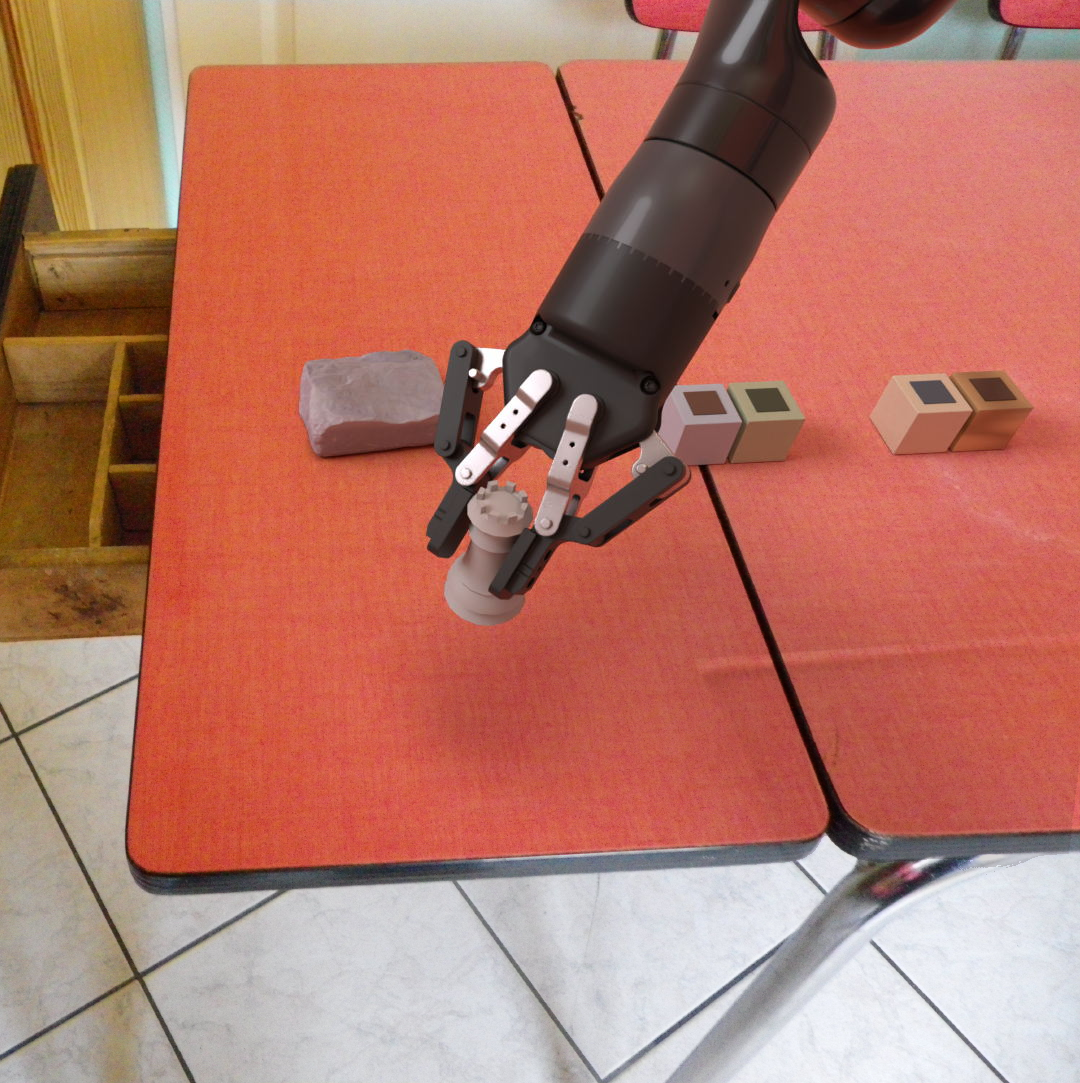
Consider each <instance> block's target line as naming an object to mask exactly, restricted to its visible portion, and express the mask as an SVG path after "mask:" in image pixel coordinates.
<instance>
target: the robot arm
mask: <svg viewBox="0 0 1080 1083" xmlns="http://www.w3.org/2000/svg"><path fill="white" fill-rule="evenodd" d="M959 1H960V0H709V3H708V6H707V8H706V12H705V15H704V17H703V21H702V23H701V26H700V29H699V32H698V35H697V37H696V39H695V40H696V41H695V43H694V46H693V48H692V50H691V54H690V56H689V58H688V61H687V63H686V65H685V67H684V69H683V71H682V72H681V75H680V76H679V77H678V79H677V81H676V83H675V85H674V87H673V88H672V90H671V92H670V94H669V95H668V97H667V99H666V100H665V102H664V104H663V106H662V107H661V109H660V111H659V113H658V114H657V116H656V118H655V120H654V121H653V123H652V124H651V126H650V128H649V130H648V131H647V133H646V134H645V137H644V138H643V140H642V142H641V143H640V145H638V147H637V149H636V151H635V152H634V154H633V155H632V156H631V158H630V159H629V161H628V162H627V163H626V164H625V166H624V167H623V168H622V169H621V171H620V172H619V173H618V174H617V176H616V178H614V180H613V181H612V182H611V185H610V186H609V187H608V189H607V191H606V192H605V194H604V196H603V197H602V198H601V201H600V203H599V204H598V206H597V208H596V209H595V211H594V212H593V214H592V216H591V218H590V220H589V222H588V223H587V225H586V226H585V227H584V230H583V231H582V233H581V235H580V236H579V238H578V240H577V242H576V244H575V245H574V247H573V249H572V250H571V252H570V253H569V256H568V257H567V259H566V260H565V262H564V264H563V266H562V267H561V268H560V271H559V273H558V274H557V276H556V278H555V280H554V281H553V282H552V284H551V286H550V288H549V290H548V291H547V293H546V294H545V297H544V298H543V299H542V301H541V303H540V305H539V306H538V308H537V310H536V313H535V314H534V316H533V318H532V319H533V320H532V321H531V324H530V325H529V327H528V328H527V329H526V330H525V331H524V332H523V333H522V334H521V335H520V336H519V337H517V338H515V339H514V340H513V341H511V342H510V343H509V344H508V345H507V346H506V347H505V348H504V349H502V348H490V347H478V346H475V345H474V344H472V343H471V342H470V341H467V340H464V339H461V340H457V341H456V342H455V343H453V345H452V346H451V348H450V351H449V357H448V362H447V369H446V375H445V380H444V391H443V396H442V402H441V408H440V413H439V419H438V425H437V430H436V436H435V442H434V444H433V449H434V452H435V454H437V455H438V456H440V457H441V458H442V460H444V461H445V463H446V465H447V466H448V468H450V470H451V473H452V482H451V484H450V486H449V487H448V489H447V491H446V493H445V495H444V496H443V498H442V500H441V501H440V503H439V505H438V507H437V508H436V509H435V511H434V513H433V515H432V516H431V518H430V520H429V522H428V523H427V526H426V532H425V536H426V537H428V539H430V540H429V541H428V543H427V546H426V550H427V551H428V552H430V553H431V554H432V555H434V556H435V557H437V558H441V559H450V558H451V557H452V556H453V555H455V553H456V552H457V550H458V548H459V547H460V545H461V544H462V541H463V540H464V539H465V536H466V535H467V534H468V532H469V525H470V523H471V520H470V518H469V516H468V503H469V502H470V500H471V498H472V497H473V496H474V495H475V494H477V493H478V491H479V489H480V488H481V487H483V488H484V489H487V485H488V482H490V481H494V480H497V481H498V480H499V479H500V478H501V476H503V474H504V473H505V472H506V471H507V469H509V468H510V467H511V465H513V463H516V462H517V461H519V460H521V459H522V457H523V456H525V454H526V453H528V451H529V450H530V449H531V447H532V448H534V449H537V450H541V451H542V452H543V453H544V454H545V455H546V456H547V457H548V458H549V459H550V460H552V463H551V466H550V468H549V471H548V474H547V475H546V476H547V477H546V488H545V491H544V494H543V497H542V499H541V502H540V504H539V507H538V510H537V513H536V515H535V517H534V521H533V525H532V526H531V528H530V527H529V528H524V530H523V531H522V533H521V535H520V536H519V538H518V540H517V541H516V543H515V545H514V546H513V548H512V550H511V551H510V553H509V554H508V556H507V558H506V559H505V561H504V563H503V564H502V566H501V568H500V569H499V571H498V572H497V574H496V576H495V577H494V579H493V581H492V582H491V584H490V586H489V588H488V592H490V593H491V594H492V595H494V596H495V597H497V598H498V599H500V600H509V599H511V598H512V597H513V596H514V595H524V594H525V593H526V594H527V593H528V592H529V591H531V590H532V589H533V588H534V586H535V584H536V582H537V581H538V579H539V577H540V576H541V574H542V573H543V571H544V570H545V569H546V566H547V565H548V563H549V562H550V560H551V558H552V557H553V555H554V553H555V552H556V550H557V549H558V548H559V546H561V545H563V544H565V543H575V544H580V545H582V546H583V545H584V546H589V547H591V548H601V547H604V546H605V545H607V543H609V542H611V541H612V540H613V539H615V538H616V537H618V536H619V535H620V534H621V533H623V532H624V531H626V530H627V529H629V528H630V527H631V526H632V525H634V524H636V522H638V521H640V520H641V519H642V518H643V517H645V516H646V515H648V514H649V513H650V512H652V511H653V510H655V509H656V508H657V507H659V506H660V505H662V504H663V503H664V502H666V501H667V500H668V499H670V498H671V497H673V496H674V495H675V494H677V493H678V492H680V491H681V490H683V489H684V488H685V487H687V485H689V484H690V483H691V480H692V475H693V474H692V471H691V469H690V467H689V465H688V466H687V465H686V464H685V463H684V462H683V461H682V460H680V459H678V458H677V457H676V456H675V455H674V453H673V452H672V451H671V450H670V448H669V447H668V446H667V444H666V443H665V442H664V441H663V439H662V438H661V437H660V435H659V434H658V432H659V430H660V428H661V423H662V411H663V407H664V404H665V401H666V399H667V398H668V396H669V395H670V393H671V392H672V390H673V389H674V387H675V386H676V385H677V384H678V382H679V381H680V379H681V377H682V376H683V375H684V373H685V371H686V369H687V368H688V366H689V364H690V363H691V361H692V360H693V358H694V357H695V355H696V353H697V352H698V350H699V348H700V347H701V345H702V344H703V342H704V340H706V337H707V336H708V334H709V333H710V330H712V328H713V326H714V324H715V323H716V321H717V319H718V318H719V317H720V315H721V313H722V312H723V310H724V308H725V307H726V306H727V305H728V304H730V303H731V301H732V300H733V298H734V296H735V295H736V293H737V291H738V290H739V288H740V286H741V284H742V283H741V282H742V280H743V278H744V276H745V275H746V273H747V272H748V271H749V268H750V266H751V265H752V263H753V261H754V260H755V257H756V255H757V253H758V251H759V250H760V249H759V248H760V246H761V244H762V242H763V240H764V238H765V236H766V233H767V231H768V229H769V227H770V225H771V223H772V222H773V220H774V218H775V216H776V213H778V211H779V210H780V208H782V205H783V204H784V202H785V200H786V198H788V195H789V194H790V192H791V191H792V189H793V188H794V186H795V184H796V183H797V181H798V179H799V178H800V176H802V174H803V171H804V170H805V168H806V166H807V165H808V163H809V161H810V160H811V158H812V156H813V155H814V153H815V152H816V150H818V147H819V145H820V144H821V142H822V140H823V139H824V137H825V135H826V133H827V132H828V130H829V128H830V126H831V124H832V122H833V119H834V116H835V115H836V114H835V113H836V110H837V103H838V102H837V93H836V91H835V88H834V85H833V82H832V80H831V79H830V77H829V75H828V74H827V72H826V70H825V69H824V68H823V67H822V65H821V63H820V62H819V61H818V59H817V58H816V56H815V55H814V54H813V52H812V50H811V49H810V47H809V45H808V43H807V42H806V40H805V38H804V36H803V33H802V30H801V27H800V22H799V10H800V11H801V12H802V13H804V14H805V15H806V16H808V17H809V18H810V19H812V20H813V21H814V22H815V23H817V24H818V25H819V26H820V27H822V29H824V30H826V31H827V32H828V33H830V34H831V35H832V36H833V37H835V38H836V39H837V40H839V42H842V43H843V44H846V45H848V46H850V47H853V48H856V49H862V50H884V49H890V48H895V47H899V46H902V45H904V44H907V43H910V42H911V41H913V40H915V39H917V38H918V37H920V36H921V35H924V33H926V32H927V31H928V30H929V29H930V28H932V27H933V26H934V25H936V24H937V23H938V22H939V21H940V19H942V18H943V17H944V16H945V15H946V14H947V13H948V12H949V11H950V10H951V9H952V8H953V7H954V6H955V5H956V4H957V3H958V2H959ZM500 374H502V387H503V388H502V389H503V408H502V409H501V411H500V412H499V413H498V414H497V415H496V416H495V417H494V419H493V420H492V421H491V422H490V424H488V426H487V427H486V428H485V429H483V431H482V433H481V434H480V437H479V438H480V439H479V441H478V443H476V438H477V432H478V426H479V421H480V415H481V409H482V404H483V398H484V392H486V391H487V392H488V391H490V389H492V388H493V386H494V385H495V383H496V380H497V378H498V376H499V375H500ZM475 443H476V445H475ZM639 448H640V455H639V457H638V459H637V460H636V461H635V462H633V464H632V467H631V477H632V480H631V481H630V482H628V483H627V484H626V485H624V486H623V487H622V488H620V489H618V491H616V492H615V493H614V494H612V495H610V497H608V498H606V499H605V500H604V501H602V502H601V503H600V504H599V505H597V506H596V507H594V508H593V509H592V510H590V511H589V512H587V514H585V515H584V516H582V517H580V516H578V515H579V512H580V509H581V507H582V504H583V502H584V500H585V499H586V498H587V496H588V495H589V493H590V491H591V488H592V485H593V483H594V480H595V477H596V474H597V472H598V469H599V466H601V465H603V464H605V463H607V462H610V461H612V460H614V459H616V458H618V457H620V456H623V455H625V454H627V453H629V452H631V451H635V450H636V449H639ZM526 594H525V595H526Z"/></svg>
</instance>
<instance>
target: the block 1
mask: <svg viewBox="0 0 1080 1083" xmlns="http://www.w3.org/2000/svg"><path fill="white" fill-rule="evenodd" d="M726 390H727V388H726V387H725V385H724V384H723V383H722V382H720V383H719V382H718V383H700V384H698V383H697V384H680V385H679V384H678V385H677V384H676V385H675V387H674V389H673V390H672V392H671V393H670V395H669V396H668V398H667V399H666V401H665V404H664V407H663V411H662V423H661V428H660V430H659V432H658V434H659V435H660V437H661V438H662V439H663V441H664V442H665V443H666V444H667V446H668V447H669V448H670V450H671V451H672V452H673V453H674V455H675V456H676V457H677V458H678V459H680V460H682V461H683V462H684V463H685V464H686V465H687V466H688V467H689V466H705V465H722V464H725V463H726V461H727V458H728V454H729V451H730V449H731V447H732V445H733V442H734V440H735V438H736V435H737V433H738V431H739V428H740V426H741V424H742V420H741V418H740V416H739V414H738V413H737V411H736V409H735V407H734V405H733V403H732V401H731V399H730V397H729V395H728V393H727V391H726Z"/></svg>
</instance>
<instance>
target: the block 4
mask: <svg viewBox="0 0 1080 1083" xmlns="http://www.w3.org/2000/svg"><path fill="white" fill-rule="evenodd" d="M948 377H949V379H950V380H951V381H952V383H953V384H954V386H955V387H956V388H957V390H958V391H959V392H960V394H961V395H962V396H963V398H964V399H965V400H966V402H967V403H968V404H969V406H970V407H971V409H972V410H973V411H972V413H971V414H970V416H969V417H968V419H967V420H966V422H965V423H964V425H963V426H962V428H961V429H960V431H959V432H958V434H957V435H956V437H955V438H954V440H953V441H952V443H951V444H950V446H949V447H948V449H949V450H950V451H951V452H972V451H989V450H992V451H993V450H1004V449H1005V448H1007V445H1008V444H1009V443H1010V441H1011V440H1012V438H1014V436H1015V434H1016V433H1018V432H1017V431H1018V430H1019V429H1020V428H1021V426H1022V425H1023V424H1024V422H1025V421H1026V419H1027V418H1028V416H1030V414H1031V412H1032V411H1033V410H1034V405H1032V403H1031V401H1030V400H1028V398H1027V397H1026V395H1025V394H1024V393H1023V392H1022V390H1021V389H1020V388H1019V387H1018V386H1017V384H1016V383H1015V382H1014V381H1013V379H1012V378H1011V377H1010V376H1009V375H1008V373H1007V372H1006V371H1005V370H1004V369H1003V370H984V371H983V370H982V371H962V372H960V371H959V372H951V373H950V375H949V376H948Z"/></svg>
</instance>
